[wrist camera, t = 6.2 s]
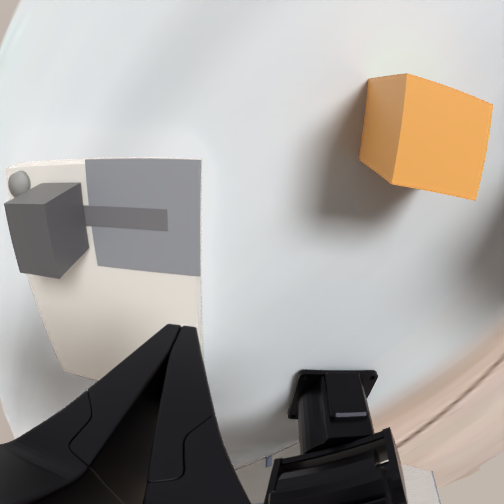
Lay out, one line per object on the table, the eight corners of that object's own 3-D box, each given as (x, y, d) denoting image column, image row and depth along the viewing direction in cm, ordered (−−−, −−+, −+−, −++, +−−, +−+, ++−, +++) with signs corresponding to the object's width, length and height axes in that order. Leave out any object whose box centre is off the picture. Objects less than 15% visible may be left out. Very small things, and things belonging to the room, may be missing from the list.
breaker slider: (89, 248, 17) (59, 279, 14) (51, 244, 17) (20, 272, 14) (80, 182, 15) (44, 204, 12) (41, 183, 15) (4, 203, 12)
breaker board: (208, 386, 24) (204, 406, 23) (69, 360, 24) (60, 375, 23) (207, 154, 16) (198, 162, 14) (19, 159, 16) (-1, 167, 14)
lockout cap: (428, 172, 16) (475, 200, 11) (358, 159, 16) (391, 184, 11) (440, 98, 14) (492, 104, 9) (368, 78, 14) (406, 73, 9)
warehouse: (230, 469, 33) (224, 519, 27) (315, 430, 28) (320, 495, 21) (363, 500, 41) (367, 533, 34) (431, 469, 36) (441, 505, 29)
